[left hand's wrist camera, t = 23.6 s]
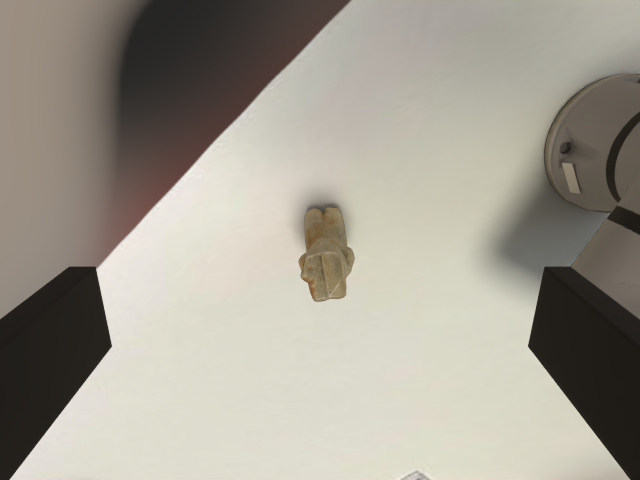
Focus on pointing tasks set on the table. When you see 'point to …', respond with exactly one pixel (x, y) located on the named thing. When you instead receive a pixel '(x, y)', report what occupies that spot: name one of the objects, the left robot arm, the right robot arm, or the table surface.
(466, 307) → the table surface
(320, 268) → the sculpture
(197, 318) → the table surface
